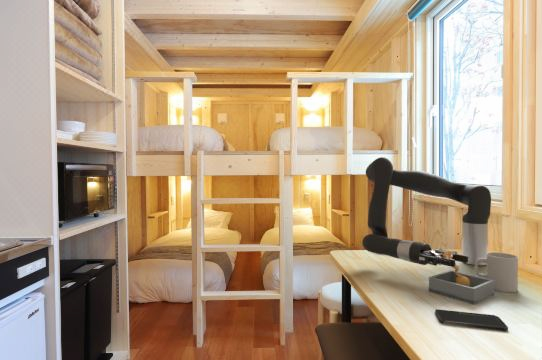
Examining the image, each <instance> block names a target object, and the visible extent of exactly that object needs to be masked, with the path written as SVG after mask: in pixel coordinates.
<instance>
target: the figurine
mask: <svg viewBox="0 0 542 360" xmlns="http://www.w3.org/2000/svg"><path fill="white" fill-rule="evenodd" d="M448 251H449V252H447V253H445V254H443V258H448V259H452V255H451V254H452V253H451V251H452V250H448ZM452 269H454V271H455V274H456V275H457V276H458V277H457V278H456V284H460V285H464V286H468V287H469V286H470V281H469V279H468V278H467V277H465V276H462V275H460V274H458V273H457V272H459V269H460V267H459V266H458V265H457V263H456V262H455V267H452Z"/></svg>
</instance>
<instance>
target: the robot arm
mask: <svg viewBox="0 0 542 360" xmlns="http://www.w3.org/2000/svg"><path fill="white" fill-rule="evenodd" d="M365 175H366V177H367V179H368V180H370V181H371V182H372V183H373V191H372V195H371V199H370V202H369V205H368V212H367V226H368V229H370V230H371V232H372V233H369V234H366V235H365V236H364V237H363V239H362V242H361V243H362V247H363V249H365V250H366V251H367V252H368V253H373V254H376V255H386V256H388V257H391V258H394V259H399V260H403V261H405V262H409V263H414V264H417V265H422V266H426V265H431V266H436V267H437V266H446V267H451V268H453V267H455V263H456V262H460V263H464V264H468V265H473V266H475V262H476V260H477V259H479V258H487V253H489V252H488V250H489V249H488V246H489V245H488V244H489V243H488V241H489V240H488V239H489V237H488V235H489V233H488V232H489V230H488V229H489V227H488V225H489V223H488V221H489V218H490V216H491V207H492V194H491V190H489V188H488V187H486V186H485V185H479V184H464V183H457V182H454V181H450V180H448V179H446V178H444V177H442V176H440V175H437V174H433V173H430V172H426V171H422V170H400V169H399V170H397V169H394V165H393V163H392V161H391V160H390V159H389V158H386V157H385V156H384V157H382V156H381V157H378V158H376V159H374V160H373V161H372V162H371V163H370V164H369V165H368V166H367V167H366V169H365ZM390 186H395V187H398V188H401V189H404V190H409V191H413V192H416V193H419V194H423V195H426V196H432V197H437V198H438V197H439V198H445V199H449V200H452V201H455V202H458V203H461V204H463V205H465V206H467V212H466V213H465V214H463V215H462V224H461V227H462V231H461V232H462V235H461V240H462V242H461V251H462V252H461V254H459V253H458V252H457V251H455V250H454V251H453V250H447V249H443V248H439V249H437V248H436V249H432V247H431V245H430V244H429V243H427V242H421V241H413V240H406V239H399V238H391V237H388V229H387V225H386V224H387V206H388V199H389V197H388V196H389V190H390ZM449 251H451V253H452V254H451V256H452V259H448V258H443V254H445V253H447V252H449ZM478 266H487V264H486V263H483V262H481V263H479V264H478Z"/></svg>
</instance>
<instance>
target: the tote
mask: <svg viewBox="0 0 542 360" xmlns="http://www.w3.org/2000/svg"><path fill="white" fill-rule="evenodd" d="M457 273H458V274H460V275H462V276H465V277H467V278H468V279H469V281H470V286H469V287H468V286H464V285H460V284H456V278H457V277H458V276H457V275H456V274H455V270H450V269H448V270H445V271H443V272H440V273H437V274H435V275H432V276H429V277H428V292H430V293H434V294H437V295H441V296H445V297H448V298H451V299H454V300H458V301H462V302H463V303H467V304H472V305H476V304H478V303H481V302H482V301H484V300H486V299H488V298H490V297H493V296H494V295H495V290H494V280H491V279H486V278H482V277H478V276H477V275H473V274H468V273H464V272H459V271H458V272H457Z"/></svg>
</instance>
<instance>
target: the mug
mask: <svg viewBox="0 0 542 360" xmlns="http://www.w3.org/2000/svg"><path fill="white" fill-rule="evenodd" d="M481 262H483V263H486V264H487V265H486V273H480V270H479V265H478V264H479V263H481ZM518 268H519V258H518V256H516V255H515V254H511V253H506V252H497V251H495V252H493V251H492V252H488V253H487V258H479V259H477V260H476V262H475V265H474V272H475V276H477V277H482V278H486V279H491V280H494V291H495V292H501V293H509V294H510V293H517V292H518V289H519V283H518V282H519V275H518V272H519V269H518Z"/></svg>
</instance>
